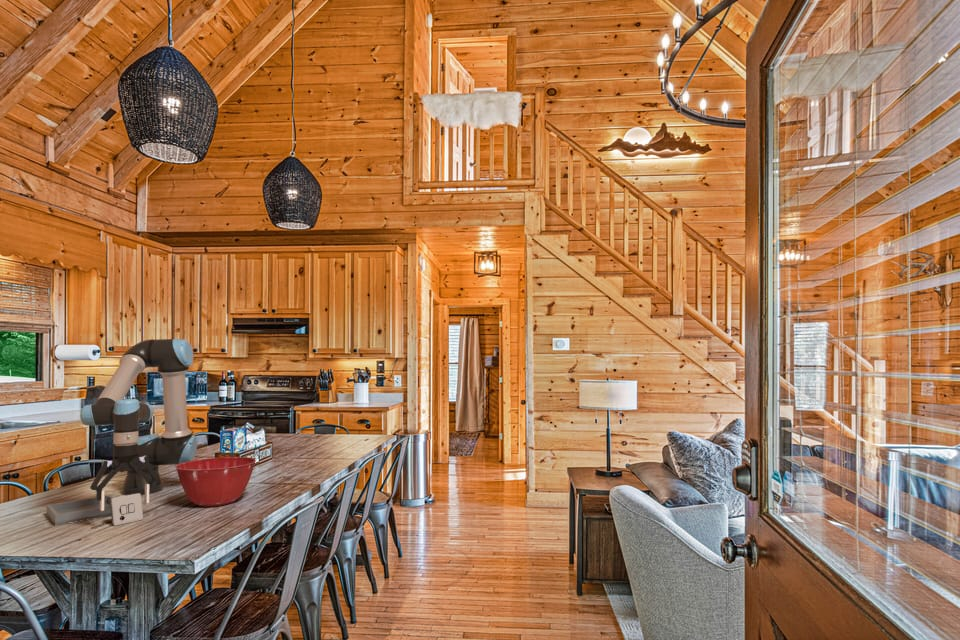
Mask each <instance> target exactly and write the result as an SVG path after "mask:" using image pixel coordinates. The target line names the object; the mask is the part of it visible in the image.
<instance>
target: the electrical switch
mask: <svg viewBox="0 0 960 640" xmlns="http://www.w3.org/2000/svg"><path fill="white" fill-rule="evenodd" d="M142 503H143V502H142V494H139V493H137V494H132V495H122V496H117V497H114V498H112V499H111V501H110V505H111V515H112V516H111V523H112V525H113V526H114V527H116V526H121V525H126V524H130V523H134V522H139V521H141V520H143V519H144V514H143V504H142Z"/></svg>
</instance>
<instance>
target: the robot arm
mask: <svg viewBox="0 0 960 640" xmlns="http://www.w3.org/2000/svg"><path fill="white" fill-rule="evenodd" d="M190 343H191V342H189V341H188V340H187V339H183V338H182V339H180V338H164V339H163V338H161V339H159V338H158V339H153V338H151V339H144V340H142V341H139V342H138V343H136V344H134V345H133V346H131V347H130V348H128V349H127V350H126V351H125V352H124V353H123V355H122V356H121V358H120V359H119V361H118V362H119V364H118V365H119V366H118V367H117V369H116V370H115V371H114V373H113V375H112V376H111V378H110V380H109V381H108V383H107V384H106V386H105V387H104V389H103V390H102V392H101V393H100V395H99V397H98V398H97V400H96V401H95V402H94V404H92V403H91V404H86V405H84V406H82V408H81V410H80V420H81V423H82V424H83V425H84V426H94V427H96V426H97V427H98V426H111V425H112V426H113V441H112V442H113V443H112V444H113V445H114V446H113V447H112V448H113V449H112V452H113V453H112V454H113V455H112V460H106V459H103V460H102V461H101V467H100V469H99V470H98V472H97V474H96V475H95V478H94V479H93V481H92V483H91V485H90V486H89V489H90V490H92V491H95V492H96V496H95V497H96V499H97V501H100V510H101V511H104V496H105V490H104V488H106V486H107V484H109V482H110V481H111V480H112V479H113V477H114V476H115V475H117V474H118V472H121V473H124V472H126V476H125V478H124V481H123V484H122V488H121V494H122V495H123V496H126V495H132V494H137V493H139V494H141V495H144V503H145V504H149V503H150V494H152V493H153V494H154V493H157V492H159V491H162V490H163V489H164V482H163V480H162V477H161V473H160V472H159V471H160V470H159V466H170V465H171V466H172V465H173V466H174V465H176V466H177V465H179V464H181V463H185V462H189V461H194V459H195V457H196V454H197V450H198V437H197V436H195V435H193V433H192V432H193V431H192V430H191V429H189V427H188V411H187V409H188V408H187V405H188V404H187V389H186V373H188V371H189V370H190V368H189V367H191V366H192V365H193V364H194V352H193V351H194V350H193V347H192V345H191V344H190ZM147 368H157V372H158V374H160V375H161V376H162V378H161V379H162V395H163V411H164V412H163V414H164V429H165V430H164V431H163V432H162V434H161V437H160V435H159V434H158V433H153V434H146V435H142V436H139V429H140V428H139V425H141V424H143V425H144V424H146V423H148V422H149V421H151V419H153V417H154V414H155V413H154V412H155V411H154V408H153V406H152V405H151V404H150V403H148V402H143V401H142V402H139V401H140V400H138V399H136V398H128V399H125V398H126V396H127V394H128V392H129V391H130V389H131V387H132V386H133V384H134V382H135V380H136V379H137V377H138V375H139V374H141V373H142V372H144V371H145V369H147ZM111 465H112V466H113V468H112V469H111V470H110V471H109V472H108V474H107V475H106V476H105V477H104V478H103V476H104V474H105V473H106V470H107V469H108V468H109V467H110V466H111ZM102 479H103V480H102ZM101 480H102V481H101ZM100 481H101V482H100Z"/></svg>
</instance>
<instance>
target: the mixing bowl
mask: <svg viewBox="0 0 960 640" xmlns="http://www.w3.org/2000/svg"><path fill="white" fill-rule="evenodd" d="M256 461H257V460H256V458H253V457H249V456H248V457H247V456H246V457H245V456H224V457H223V456H221V457H211V458H210V457H209V458H201V459H195V460H194V459H193V460H192V461H189V462H185V463H181V464H177V465H176V466H175V469H176V472H177V475H178V480H179V482H180V484H181V487H182V489H183V491H184V493H185V495H186V497H187V498H188V499H189V501H191V502H192V503H193V504H195V505H197V506H199V507H206V508H207V507H209V508H210V507H218V506H219V507H220V506H224V505H225V506H226V505H229V504H232V503H234V502H235V501H236V500H238V499H239V498H240V497H242V495H243V494H244V492H245V491H246V488H247V486H248V485H249V482H250V479H251V477H252V474H253V471H254V467H255V463H256Z"/></svg>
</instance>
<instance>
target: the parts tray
mask: <svg viewBox="0 0 960 640" xmlns="http://www.w3.org/2000/svg"><path fill="white" fill-rule="evenodd" d="M112 498H115V497H114V496H112V495H111V494H109V495H104V511H101V510H100V501H97V499H96V496H95V497H90V498H83V499H75V500H71V501H65V502H64V501H63V502H58V503H52V504H46V514H47V515H48V516H47V515H46V516H47V517H48V519H49V518H50V519H51V520H52V521H51V520H50V519H49V520H50V521H51V523H52V524H53V523H54V524H55V525H58V526H60V525H59V524H63V525H65V524H64V523H69V522H74V523H76V522H75V521H80V520H85V521H88V520H87V519H91V520H95V519H94V518H96V519H100V517H102V518H106V517H107V516H108V517H112V515H111V505H110V501H111V499H112ZM80 522H81V521H80ZM54 524H53V525H54ZM69 524H70V523H69ZM55 525H54V526H55Z"/></svg>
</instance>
